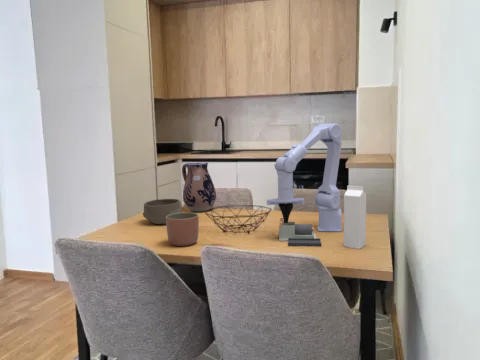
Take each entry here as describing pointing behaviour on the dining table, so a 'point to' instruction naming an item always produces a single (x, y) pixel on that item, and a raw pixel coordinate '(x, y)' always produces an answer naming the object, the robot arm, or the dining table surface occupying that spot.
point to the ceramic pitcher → (198, 187)
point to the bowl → (161, 209)
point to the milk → (354, 217)
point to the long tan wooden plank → (281, 221)
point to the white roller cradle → (291, 232)
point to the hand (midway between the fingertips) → (285, 222)
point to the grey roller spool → (303, 229)
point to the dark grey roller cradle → (304, 242)
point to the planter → (182, 228)
